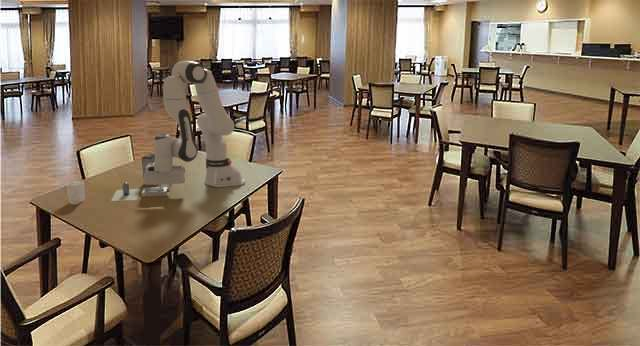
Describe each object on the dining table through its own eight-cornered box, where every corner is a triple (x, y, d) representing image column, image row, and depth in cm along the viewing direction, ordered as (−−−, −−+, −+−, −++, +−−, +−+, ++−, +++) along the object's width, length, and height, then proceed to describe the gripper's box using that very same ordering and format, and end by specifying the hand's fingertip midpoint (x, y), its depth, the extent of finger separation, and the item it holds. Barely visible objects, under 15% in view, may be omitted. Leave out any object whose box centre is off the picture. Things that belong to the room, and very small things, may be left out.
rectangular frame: (167, 192, 267) (167, 186, 266) (166, 197, 259) (166, 191, 258) (143, 193, 264) (143, 187, 263) (142, 198, 257) (141, 192, 256)
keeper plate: (141, 190, 268) (140, 188, 268) (136, 201, 252) (136, 199, 251) (117, 191, 266) (116, 189, 266) (110, 202, 249) (110, 200, 249)
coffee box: (152, 180, 286) (150, 153, 281) (162, 181, 284) (160, 154, 280) (143, 185, 277) (141, 157, 273) (154, 186, 276) (152, 158, 271)
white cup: (72, 199, 252) (69, 180, 249) (88, 199, 253) (86, 180, 250) (65, 205, 244) (63, 185, 242) (82, 205, 245) (80, 185, 242)
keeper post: (129, 193, 260) (128, 181, 258) (129, 195, 257) (128, 183, 256) (123, 193, 260) (122, 181, 258) (122, 195, 257) (121, 183, 255)
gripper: (185, 163, 264) (186, 189, 267) (143, 165, 259) (145, 190, 263) (184, 167, 258) (185, 192, 261) (142, 168, 253) (144, 194, 257)
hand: (165, 191), depth 262 cm, fingers closed on rectangular frame
